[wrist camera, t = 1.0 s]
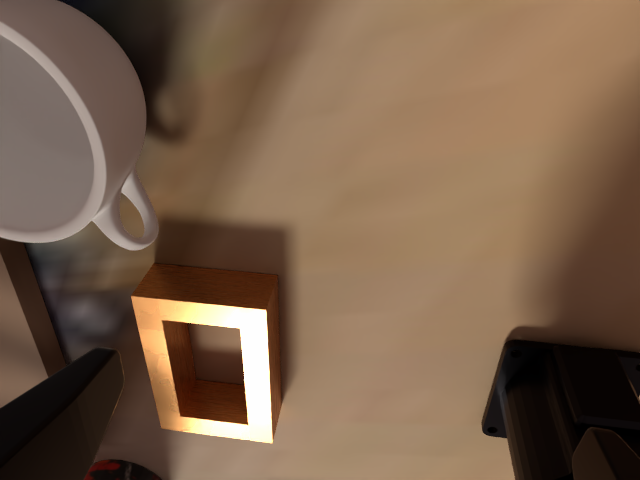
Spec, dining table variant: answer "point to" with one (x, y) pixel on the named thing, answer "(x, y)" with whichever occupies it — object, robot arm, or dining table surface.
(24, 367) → the board
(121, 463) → the deodorant
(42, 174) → the teacup
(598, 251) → the dining table surface
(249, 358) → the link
